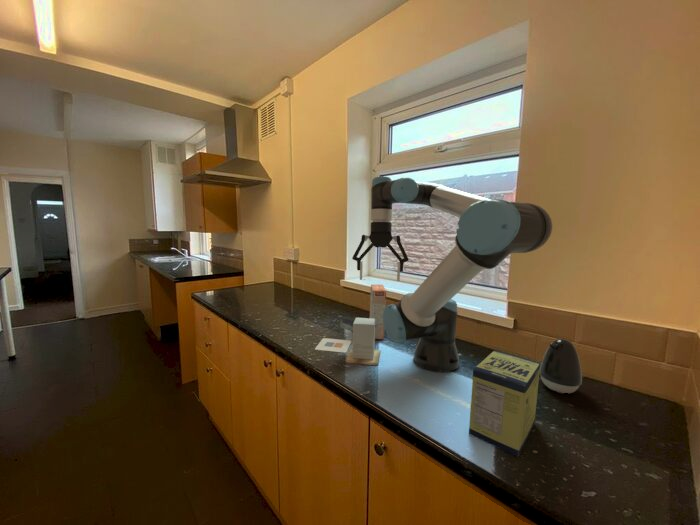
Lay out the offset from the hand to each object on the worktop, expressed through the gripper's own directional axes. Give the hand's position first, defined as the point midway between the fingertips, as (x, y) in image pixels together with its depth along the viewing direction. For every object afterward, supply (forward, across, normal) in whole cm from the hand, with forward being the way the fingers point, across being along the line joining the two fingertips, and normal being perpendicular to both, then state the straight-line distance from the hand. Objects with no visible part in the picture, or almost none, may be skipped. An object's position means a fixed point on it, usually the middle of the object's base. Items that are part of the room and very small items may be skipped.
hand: (379, 280), depth 110 cm
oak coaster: (+27, +5, +6) cm, 28 cm away
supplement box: (+26, +5, +6) cm, 28 cm away
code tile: (+27, +17, -3) cm, 32 cm away
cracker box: (+27, +1, -18) cm, 33 cm away
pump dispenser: (+28, -53, +19) cm, 63 cm away
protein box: (+28, -30, +40) cm, 57 cm away
